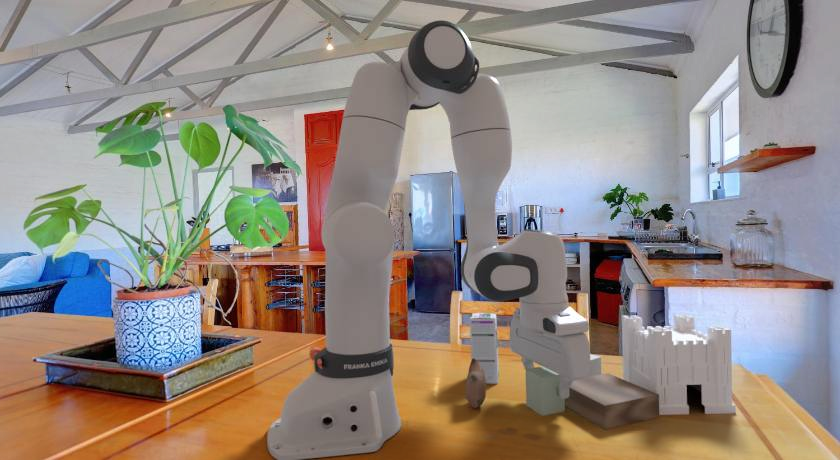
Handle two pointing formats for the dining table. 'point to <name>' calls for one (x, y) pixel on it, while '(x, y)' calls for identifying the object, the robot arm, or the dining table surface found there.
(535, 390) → the green block
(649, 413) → the walnut block
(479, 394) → the brown tapered rounded piece
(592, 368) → the grey block
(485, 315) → the syrup box
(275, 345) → the dining table surface
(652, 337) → the castle model
